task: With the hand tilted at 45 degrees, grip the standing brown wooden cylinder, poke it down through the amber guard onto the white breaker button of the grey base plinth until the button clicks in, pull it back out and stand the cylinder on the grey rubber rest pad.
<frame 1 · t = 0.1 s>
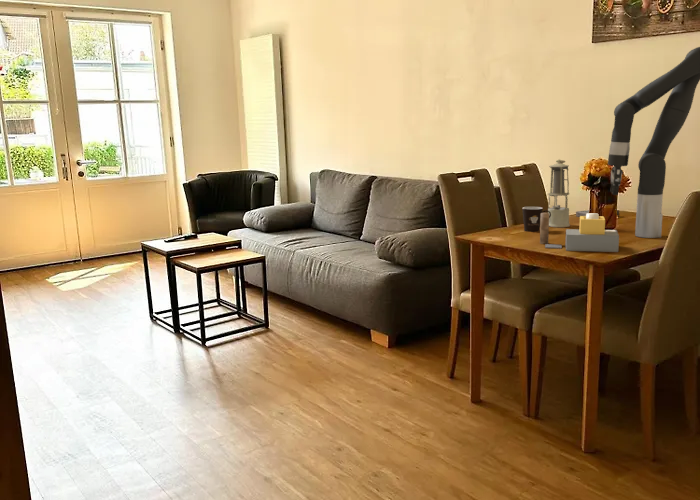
hand: (614, 193, 260), 17 cm above the table, tool pointing down, fingers open, 8 cm apart
grey base plinth: (590, 248, 240), on the table
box: (597, 218, 313), on the table
coffee mug: (535, 231, 280), on the table
brown wooden cylinder: (544, 243, 251), on the table
breaker button: (592, 223, 238), point 9 cm above the table, slide at 0.0 cm
lamp: (559, 225, 292), on the table
rest pad: (553, 246, 244), on the table
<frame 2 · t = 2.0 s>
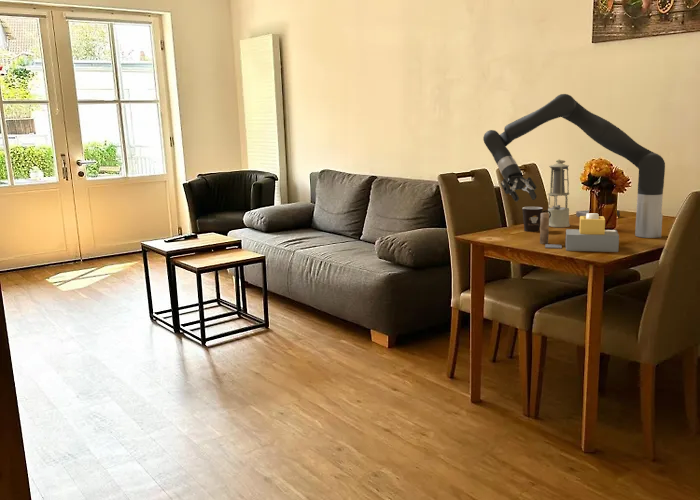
hand: (526, 199, 259), 16 cm above the table, tool tilted 45°, fingers open, 8 cm apart
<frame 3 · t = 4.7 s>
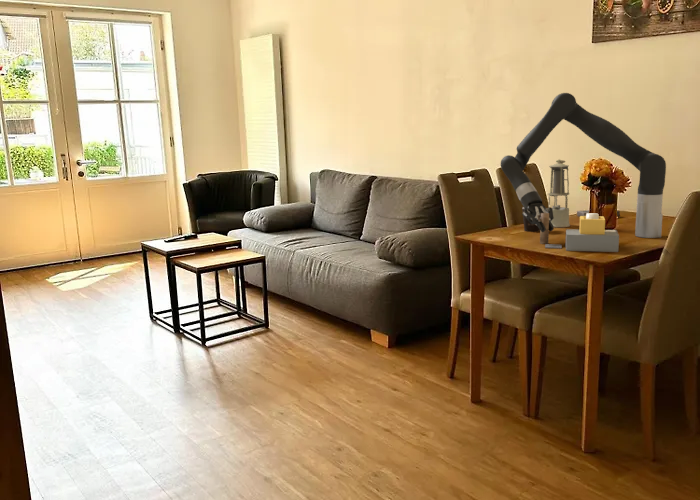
hand: (547, 230, 249), 5 cm above the table, tool tilted 45°, fingers closed on brown wooden cylinder, 3 cm apart
brown wooden cylinder: (544, 243, 251), on the table, touching gripper
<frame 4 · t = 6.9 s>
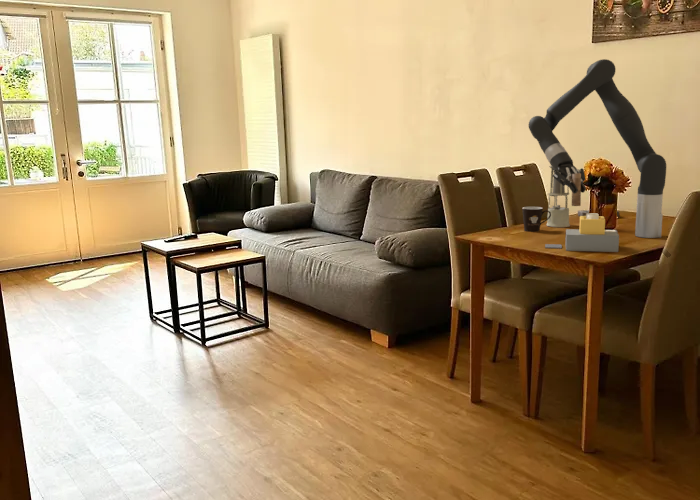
hand: (580, 191, 238), 21 cm above the table, tool tilted 45°, fingers closed on brown wooden cylinder, 3 cm apart
brown wooden cylinder: (576, 205, 241), point 16 cm above the table, touching gripper
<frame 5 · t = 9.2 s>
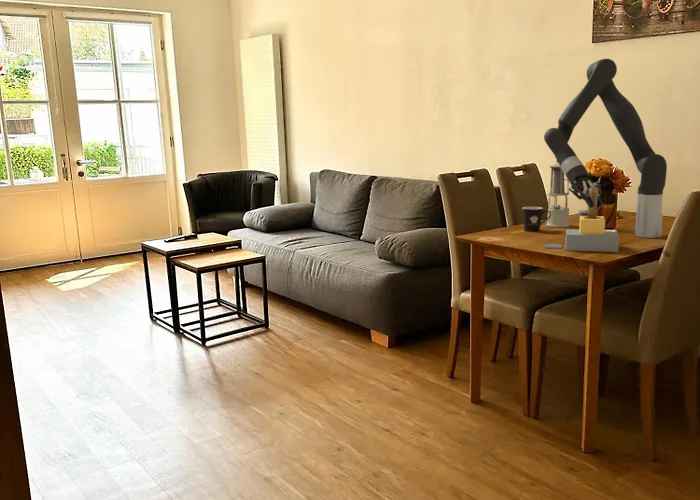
hand: (596, 205, 235), 16 cm above the table, tool tilted 45°, fingers closed on brown wooden cylinder, 3 cm apart
brown wooden cylinder: (591, 219, 238), point 11 cm above the table, touching breaker button, gripper
breaker button: (591, 229, 239), point 7 cm above the table, slide at 2.3 cm, touching brown wooden cylinder
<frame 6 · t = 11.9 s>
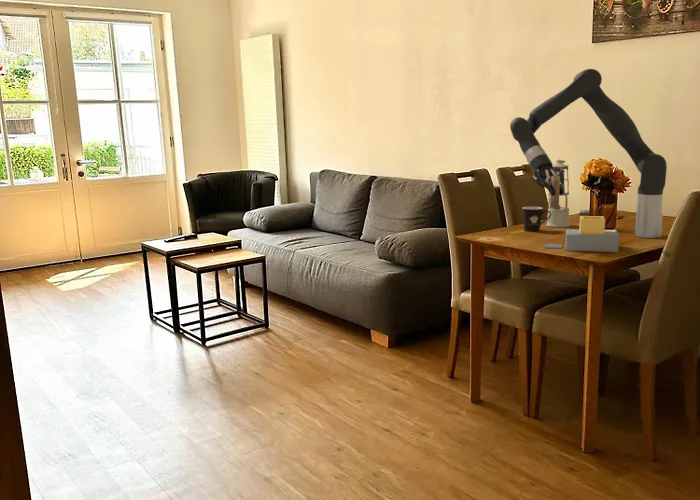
hand: (558, 194, 239), 20 cm above the table, tool tilted 45°, fingers closed on brown wooden cylinder, 3 cm apart
brown wooden cylinder: (554, 208, 241), point 15 cm above the table, touching gripper
breaker button: (591, 229, 239), point 7 cm above the table, slide at 2.3 cm
when the fingers open (7 cm above the table, at t = 14.5 s): brown wooden cylinder drops 1 cm, resting on rest pad.
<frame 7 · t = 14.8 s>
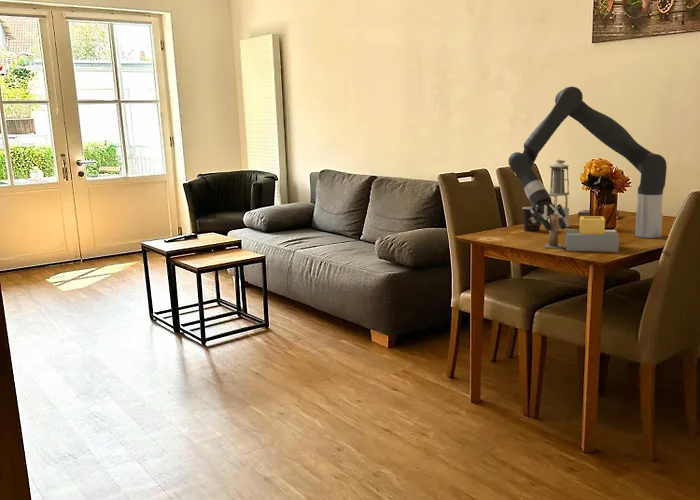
hand: (556, 228, 241), 7 cm above the table, tool tilted 45°, fingers open, 6 cm apart
brown wooden cylinder: (553, 245, 244), resting on rest pad
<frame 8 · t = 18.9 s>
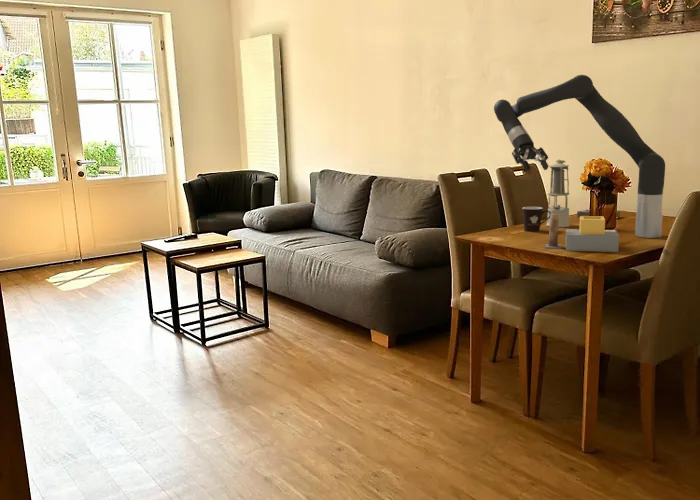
hand: (538, 169, 252), 29 cm above the table, tool tilted 45°, fingers open, 8 cm apart
at the end: breaker button slide at 2.3 cm; the gripper is holding nothing; brown wooden cylinder inside the target area (0.1 cm from its centre), resting on rest pad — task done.
